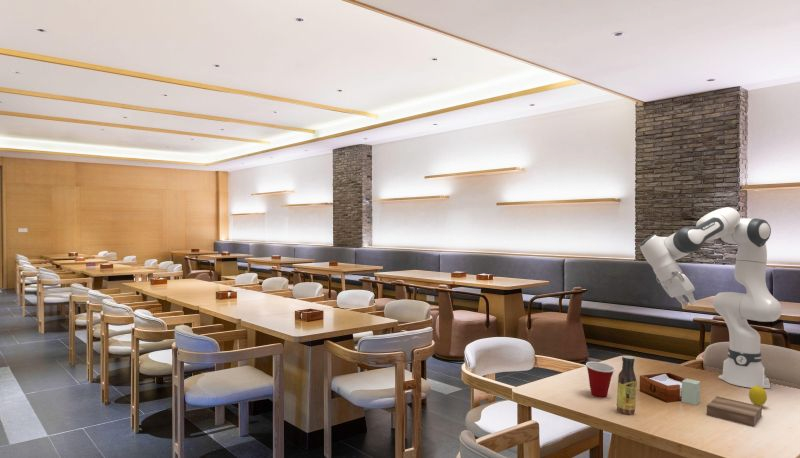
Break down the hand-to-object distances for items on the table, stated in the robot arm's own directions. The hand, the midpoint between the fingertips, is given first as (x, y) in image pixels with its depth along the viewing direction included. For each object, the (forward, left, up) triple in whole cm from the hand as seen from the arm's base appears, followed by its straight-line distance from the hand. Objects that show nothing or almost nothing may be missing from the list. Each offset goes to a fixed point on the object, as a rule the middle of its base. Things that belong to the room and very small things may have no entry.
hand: (690, 304), depth 196 cm
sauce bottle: (+32, -11, -37) cm, 50 cm away
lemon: (-12, +21, -37) cm, 44 cm away
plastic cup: (+22, -25, -37) cm, 50 cm away
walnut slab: (+6, +17, -38) cm, 42 cm away
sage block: (+2, +2, -37) cm, 37 cm away
